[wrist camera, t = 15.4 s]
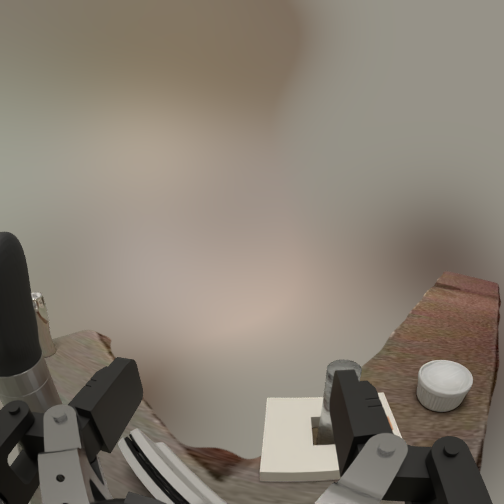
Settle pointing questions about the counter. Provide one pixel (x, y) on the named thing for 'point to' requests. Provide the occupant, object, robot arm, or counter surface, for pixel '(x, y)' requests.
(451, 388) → the ramekin
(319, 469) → the hole plate
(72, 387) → the counter surface
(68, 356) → the counter surface
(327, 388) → the grey capped tube
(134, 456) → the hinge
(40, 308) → the beer glass
